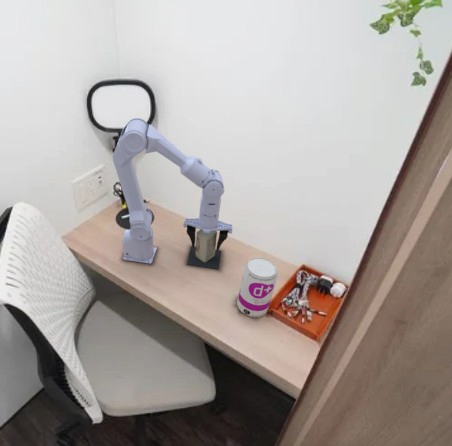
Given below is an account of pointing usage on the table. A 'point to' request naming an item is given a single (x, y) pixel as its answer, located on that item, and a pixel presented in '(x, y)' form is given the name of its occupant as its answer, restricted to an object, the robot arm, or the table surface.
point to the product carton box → (205, 245)
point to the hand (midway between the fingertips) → (205, 246)
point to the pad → (195, 261)
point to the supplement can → (257, 287)
